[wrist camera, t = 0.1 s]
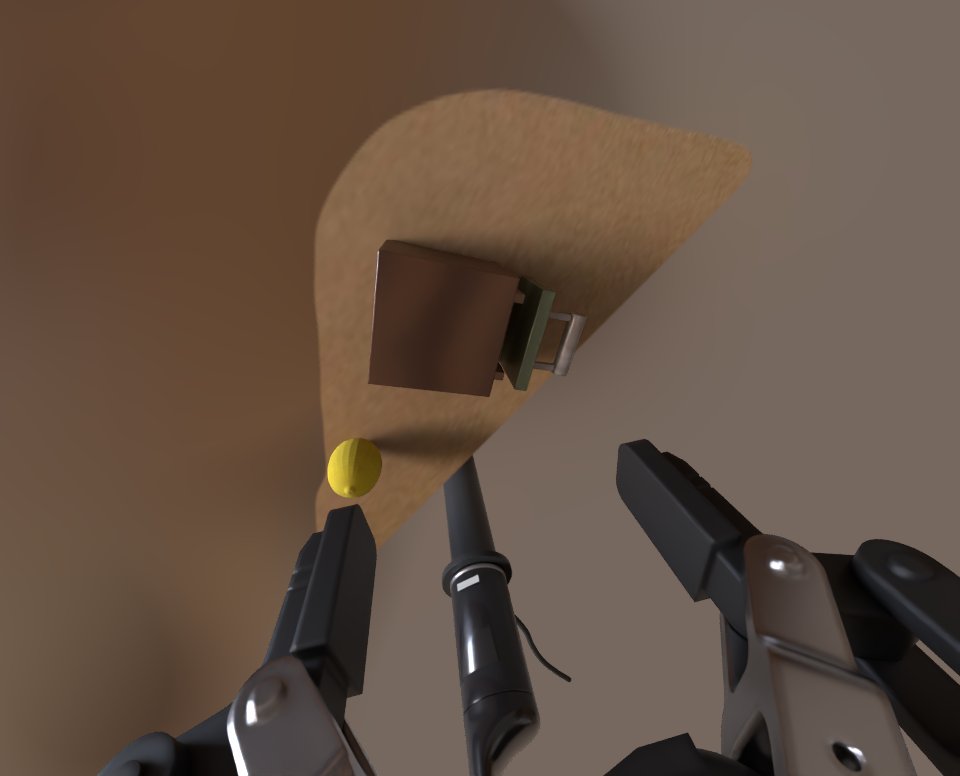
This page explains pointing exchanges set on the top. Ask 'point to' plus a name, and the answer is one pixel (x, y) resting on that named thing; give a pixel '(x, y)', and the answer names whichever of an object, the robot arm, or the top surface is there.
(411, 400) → the top surface
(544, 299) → the drawer
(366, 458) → the lemon
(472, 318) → the cabinet
